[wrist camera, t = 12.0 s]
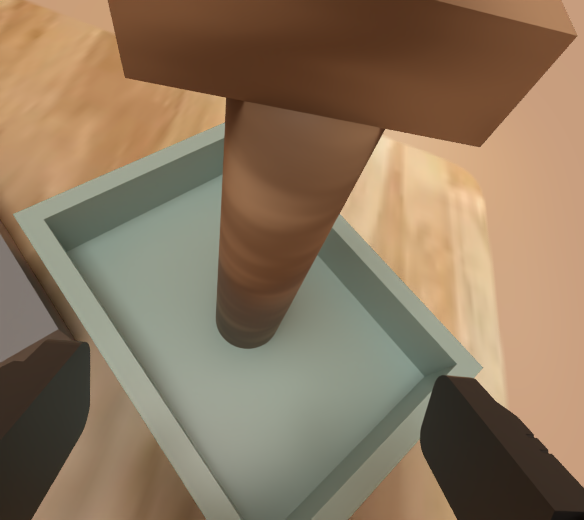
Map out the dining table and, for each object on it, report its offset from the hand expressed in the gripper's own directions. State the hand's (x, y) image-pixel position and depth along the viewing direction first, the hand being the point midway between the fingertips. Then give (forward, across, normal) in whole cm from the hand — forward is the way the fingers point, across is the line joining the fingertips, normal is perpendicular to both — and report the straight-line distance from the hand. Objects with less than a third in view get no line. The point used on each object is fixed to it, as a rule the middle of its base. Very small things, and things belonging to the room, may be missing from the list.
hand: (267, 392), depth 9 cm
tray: (+13, 0, +5) cm, 14 cm away
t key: (+12, 0, +4) cm, 13 cm away
